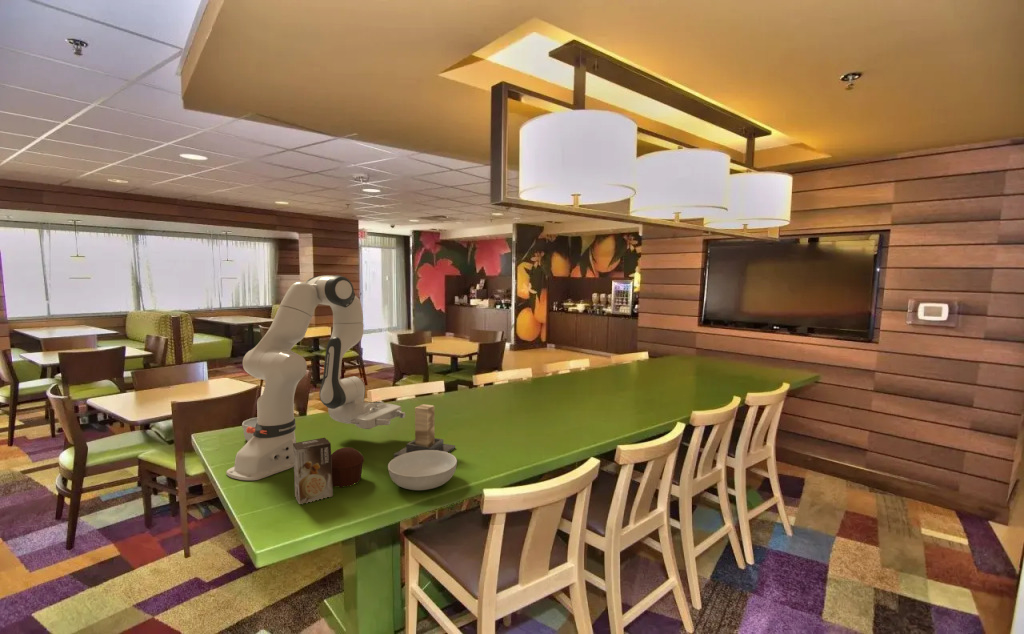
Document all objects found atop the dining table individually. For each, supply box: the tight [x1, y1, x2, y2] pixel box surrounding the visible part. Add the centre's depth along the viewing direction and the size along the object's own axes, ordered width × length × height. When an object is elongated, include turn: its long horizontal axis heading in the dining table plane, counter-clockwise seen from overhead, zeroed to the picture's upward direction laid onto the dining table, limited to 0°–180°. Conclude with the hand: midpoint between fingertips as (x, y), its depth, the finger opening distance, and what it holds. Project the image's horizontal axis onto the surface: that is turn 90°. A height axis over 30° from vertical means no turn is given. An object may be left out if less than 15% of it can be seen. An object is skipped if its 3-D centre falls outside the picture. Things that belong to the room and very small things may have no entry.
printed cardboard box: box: [293, 437, 334, 505], centre depth 132 cm, size 9×6×16 cm
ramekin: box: [241, 417, 258, 442], centre depth 181 cm, size 13×13×7 cm
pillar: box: [414, 403, 436, 447], centre depth 167 cm, size 5×5×16 cm
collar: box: [393, 437, 456, 458], centre depth 168 cm, size 16×16×4 cm
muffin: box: [331, 447, 365, 488], centre depth 143 cm, size 12×11×10 cm
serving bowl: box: [387, 450, 458, 491], centre depth 142 cm, size 21×21×7 cm
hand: (397, 418), depth 171 cm, fingers open, 8 cm apart
